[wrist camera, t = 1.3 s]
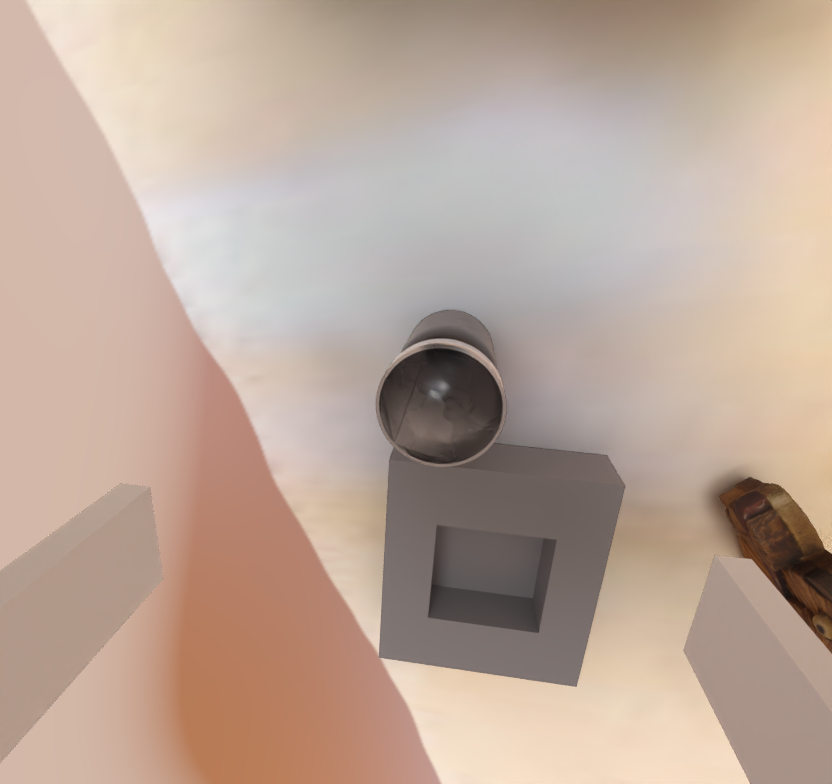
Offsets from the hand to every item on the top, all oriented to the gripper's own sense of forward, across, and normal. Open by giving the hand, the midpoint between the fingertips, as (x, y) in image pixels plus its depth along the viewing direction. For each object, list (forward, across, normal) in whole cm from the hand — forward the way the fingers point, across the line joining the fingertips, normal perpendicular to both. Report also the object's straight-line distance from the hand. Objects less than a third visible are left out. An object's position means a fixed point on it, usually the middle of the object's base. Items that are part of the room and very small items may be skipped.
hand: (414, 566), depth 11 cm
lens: (+20, 0, 0) cm, 20 cm away
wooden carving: (+21, +23, -12) cm, 33 cm away
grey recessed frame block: (+20, +4, -14) cm, 25 cm away
